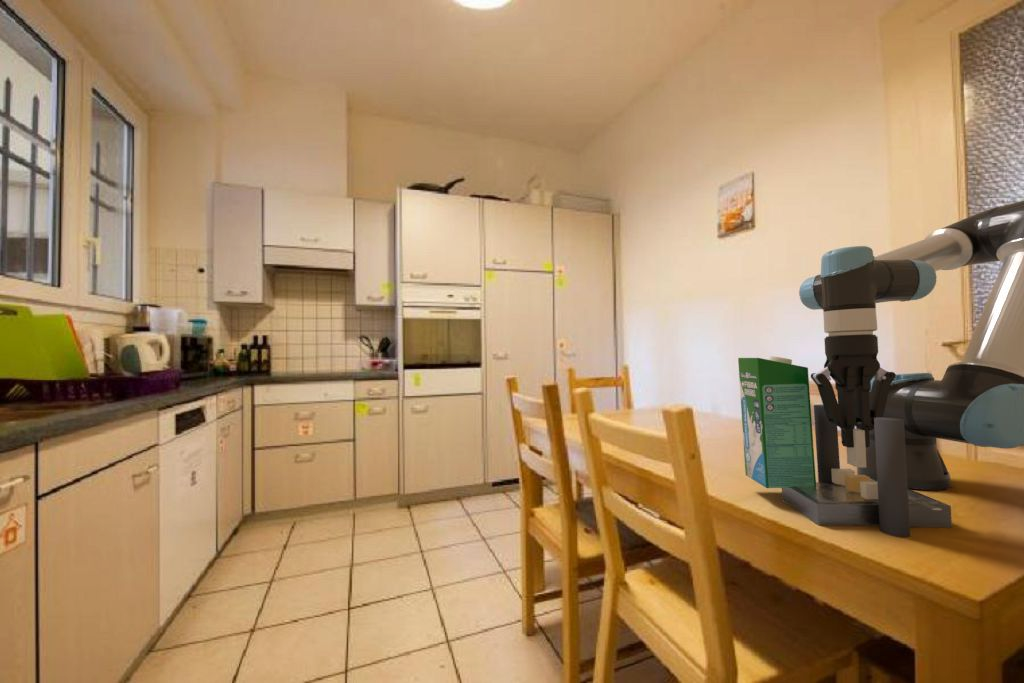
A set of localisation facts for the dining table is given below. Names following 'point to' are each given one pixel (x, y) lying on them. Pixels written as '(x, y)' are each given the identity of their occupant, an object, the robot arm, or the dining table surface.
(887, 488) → the post
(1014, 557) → the dining table surface
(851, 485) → the tan wooden block
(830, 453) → the post
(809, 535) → the dining table surface
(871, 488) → the beige rectangular block
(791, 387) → the milk carton
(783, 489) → the breaker panel
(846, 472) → the grey small block
